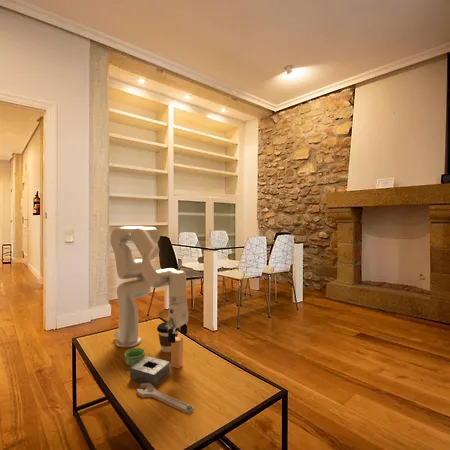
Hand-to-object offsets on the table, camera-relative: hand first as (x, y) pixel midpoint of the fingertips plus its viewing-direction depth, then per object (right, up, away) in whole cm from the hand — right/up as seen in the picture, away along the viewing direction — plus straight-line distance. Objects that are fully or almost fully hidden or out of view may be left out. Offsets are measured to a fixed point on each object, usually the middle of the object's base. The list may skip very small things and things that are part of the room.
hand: (178, 337), depth 126 cm
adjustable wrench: (-2, -14, -23) cm, 27 cm away
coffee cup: (-8, -12, +16) cm, 21 cm away
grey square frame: (-10, -13, -8) cm, 18 cm away
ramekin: (-20, -13, +4) cm, 24 cm away
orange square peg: (-1, -13, +1) cm, 13 cm away
